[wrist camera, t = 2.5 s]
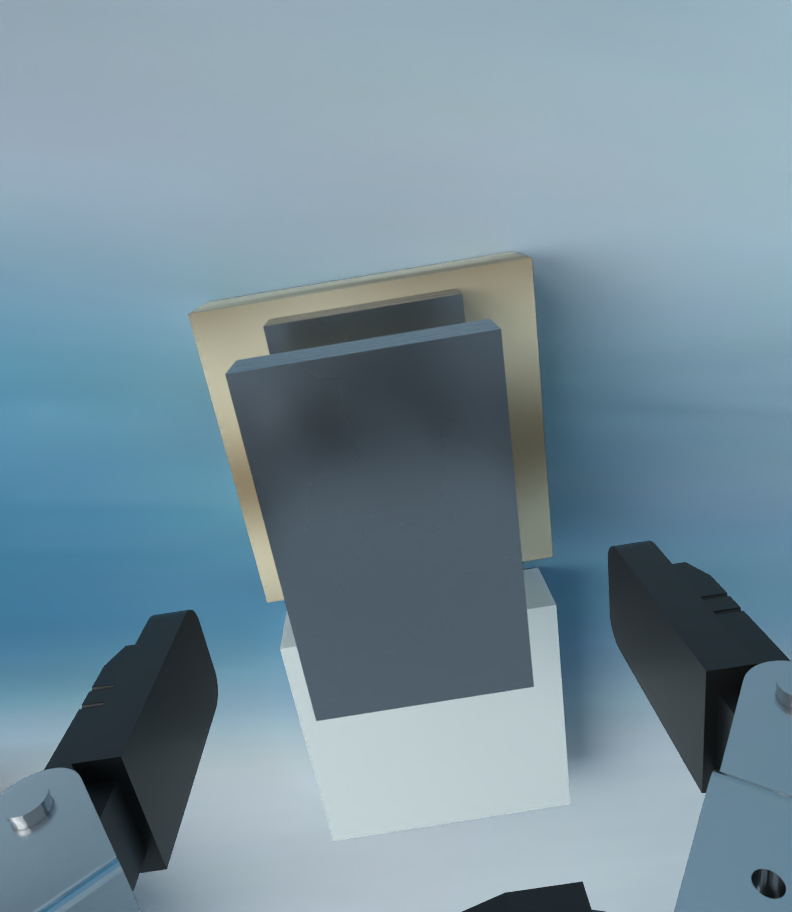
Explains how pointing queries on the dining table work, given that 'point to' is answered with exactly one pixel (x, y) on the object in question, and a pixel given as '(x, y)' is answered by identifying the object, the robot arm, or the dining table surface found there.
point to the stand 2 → (444, 746)
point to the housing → (390, 501)
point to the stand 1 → (478, 279)
